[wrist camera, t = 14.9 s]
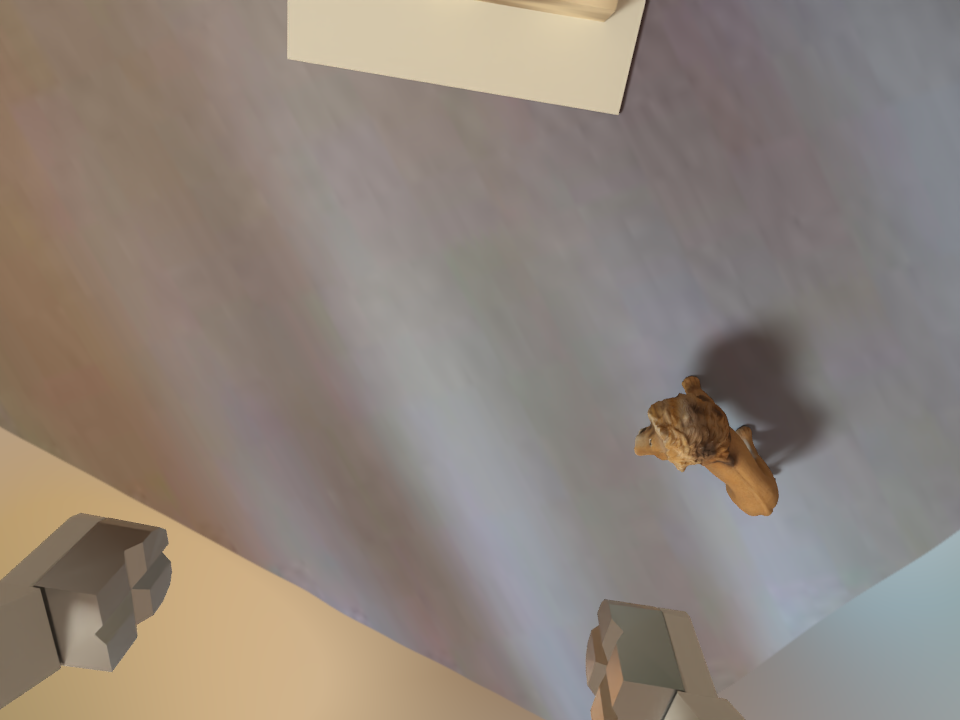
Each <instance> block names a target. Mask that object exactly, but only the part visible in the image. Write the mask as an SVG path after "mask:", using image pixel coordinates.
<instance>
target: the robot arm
mask: <svg viewBox="0 0 960 720" xmlns="http://www.w3.org/2000/svg"><path fill="white" fill-rule="evenodd" d="M167 545H168V538H167V533H166V530H165V529H162V528H160V527H154V526H149V525H144V524H139V523H133V522H128V521H123V520H118V519H113V518H105V517H100V516H94V515H89V514H83V513H80V514H77V515H75V516H72V517H70V518H69V519H68V520H67V521H66V522H65V523H63V524H62V525H61V526H60V527H59V528H58V529H57V530H56V531H54V532H53V533H52V534H51V535H50V536H49V537H48V538H47V539H46V540H45V541H43V542H42V543H41V544H40V545H39V546H38V547H37V548H36V549H35V550H33V551H32V552H31V553H30V554H29V555H28V556H27V557H26V558H25V559H23V560H22V561H21V563H19V564H18V565H17V566H16V567H15V568H14V569H12V570H11V571H10V572H9V573H8V574H7V575H6V576H5V577H4V578H3V579H1V580H0V709H1V708H3V707H4V706H6V705H7V704H9V703H10V702H12V701H13V700H15V699H16V698H18V697H19V696H21V695H22V694H24V693H25V692H27V691H28V690H30V689H31V688H32V687H34V686H36V685H37V684H39V683H40V682H41V681H43V680H44V679H46V678H47V677H49V676H50V675H52V674H53V673H55V672H56V671H58V670H59V669H60V668H61V665H63V666H71V667H79V668H86V669H94V670H102V671H109V672H112V671H113V670H114V668H115V667H116V666H117V664H118V663H119V661H120V660H121V659H122V658H123V656H124V655H125V653H126V652H127V650H128V649H129V648H130V646H131V645H132V644H133V642H134V641H135V640H136V638H137V624H139V623H140V622H142V621H144V620H145V619H147V618H149V617H151V616H153V615H154V613H155V612H156V610H157V609H158V608H159V606H160V605H161V603H162V602H163V600H164V597H165V595H166V593H167V590H168V588H169V585H170V581H171V574H172V569H171V562H170V560H169V559H168V558H167V557H166V556H165V555H164V554H163V553H162V551H163V550H164V549H165V547H166V546H167ZM597 615H598V621H599V626H597V627H596V628H594V629H593V630H591V633H590V637H589V640H588V644H587V652H586V676H587V685H588V687H589V688H590V689H591V691H592V692H593V693H594V695H595V699H594V702H593V705H592V707H591V710H590V711H591V718H592V720H745V719H744V718H743V717H742V716H741V714H740V713H739V712H738V711H737V710H736V709H735V708H734V707H733V706H732V705H731V703H730V702H729V701H728V700H726V699H722V698H718V696H717V693H716V690H715V687H714V684H713V682H712V679H711V676H710V673H709V670H708V667H707V664H706V661H705V659H704V656H703V653H702V650H701V647H700V644H699V641H698V639H697V636H696V633H695V630H694V627H693V624H692V621H691V618H690V616H689V615H688V614H687V613H686V612H684V611H678V610H671V609H665V608H656V607H653V606H646V605H640V604H633V603H627V602H620V601H613V600H607V599H604V601H603V602H602V603H601V605H600V607H599V610H598V613H597Z"/></svg>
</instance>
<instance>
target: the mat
mask: <svg viewBox="0 0 960 720" xmlns="http://www.w3.org/2000/svg"><path fill="white" fill-rule="evenodd" d="M645 1H646V0H618V2H617V7H616V11H615V12H614V13H613V14H612V15H611V16H610V17H609V18H608V19H607V20H606V21H605V22H600V21H594V20H588V19H582V18H576V17H570V16H564V15H558V14H553V13H547V12H541V11H535V10H529V9H523V8H517V7H512V6H506V5H500V4H494V3H488V2H482V1H476V0H288V38H287V59H291V60H297V61H302V62H308V63H314V64H320V65H326V66H332V67H338V68H344V69H350V70H356V71H362V72H367V73H373V74H379V75H385V76H391V77H397V78H403V79H409V80H415V81H421V82H426V83H432V84H438V85H444V86H450V87H456V88H462V89H468V90H474V91H480V92H486V93H491V94H497V95H503V96H509V97H515V98H521V99H527V100H533V101H539V102H545V103H550V104H556V105H562V106H568V107H574V108H580V109H586V110H592V111H598V112H604V113H609V114H615V115H619V110H620V106H621V102H622V98H623V94H624V89H625V85H626V81H627V77H628V73H629V68H630V64H631V60H632V56H633V52H634V47H635V43H636V39H637V35H638V31H639V26H640V22H641V18H642V14H643V10H644V6H645Z"/></svg>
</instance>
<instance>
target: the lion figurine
mask: <svg viewBox="0 0 960 720" xmlns="http://www.w3.org/2000/svg"><path fill="white" fill-rule="evenodd" d="M682 386H683V388H684V389H685V392H686V395H685V394H681V393H679V394H678V396H677V397H675V398H669V399H664V400H663V401H658V402H656V403H655V404H652V405H651V407H650V408H649V410H648V417H649V419H650V421H651V424H650V426H649V427H646V428H643V429H641V430H640V431H639V434H638V435H637V436H636V439H635V448H634V449H635V453H636V454H637V455H639V456H642V455H655V456H656V457H657V458H659V459H661V460H669V461H670V462H672V463H674V465H675V466H676V468H677V469H678V470H680V471H681V472H684V471H685V469H686V467H687V466H688V465H695V464H701V465H702V466H705V467H706V468H707V469H708V470H709V471H710V472H712V473H713V474H714V475H715V476H716V477H718V478H719V479H720V480H722V481H723V482H724V483H726V490H727V493H728V494H729V496H730V498H731V499H732V501H733V502H734V503H735V504H736V505H737V506H738V507H739V508H740V509H741V510H743V511H744V512H745V513H747V514H748V515H751V516H758V515H764V516H769V515H770V514H771V513H772V512H773V508H774V507H775V506H776V505H777V502H778V497H779V494H778V488H777V484H776V481H775V480H776V479H775V478H774V477H773V474H772V473H771V471H770V469H769V467H768V466H767V465H766V463H765V462H764V460H763V459H762V458H761V457H760V456H759V455H758V452H757V450H756V449H755V446H754V444H753V441H752V431H751V429H750V428H749V427H746V426H742V427H741V428H739V429H737V430H736V432H735V431H734V430H733V429H732V428H731V427H730V426H729V423H728V419H727V416H726V414H725V413H724V412H723V410H722V409H721V408H720V407H719V406H718V405H716V404H715V403H714V401H713V400H712V399H711V398H710V397H709V396H708V395H707V394H706V393H705V392H704V391H703V390H702V389H701V387H700V381H699V379H698V378H697V377H694V376H690V377H686V378H685V379H684V381H683V382H682Z"/></svg>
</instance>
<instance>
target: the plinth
mask: <svg viewBox="0 0 960 720" xmlns="http://www.w3.org/2000/svg"><path fill="white" fill-rule="evenodd" d="M476 1H482V2H488V3H494V4H500V5H506V6H512V7H517V8H523V9H529V10H535V11H541V12H547V13H553V14H558V15H564V16H570V17H576V18H582V19H588V20H594V21H600V22H605V21H606V20H607V19H608V18H609V17H610V16H611V15H612V14H613V13H614V12H615V11H616V7H617V2H618V0H476Z"/></svg>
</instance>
